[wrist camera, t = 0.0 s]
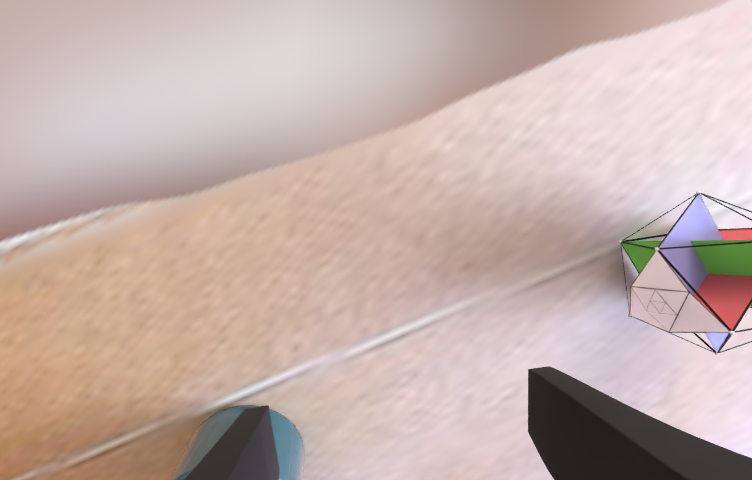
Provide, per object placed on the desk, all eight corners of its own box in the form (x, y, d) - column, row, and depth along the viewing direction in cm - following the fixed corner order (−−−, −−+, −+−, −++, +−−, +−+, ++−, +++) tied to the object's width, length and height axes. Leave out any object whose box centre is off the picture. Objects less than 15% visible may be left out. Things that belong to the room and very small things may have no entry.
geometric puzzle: (752, 147, 18) (835, 235, 12) (801, 255, 20) (897, 380, 14) (593, 208, 23) (598, 294, 17) (644, 292, 24) (664, 398, 18)
